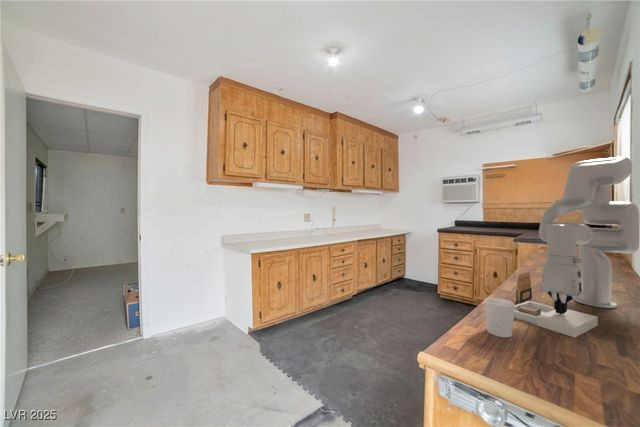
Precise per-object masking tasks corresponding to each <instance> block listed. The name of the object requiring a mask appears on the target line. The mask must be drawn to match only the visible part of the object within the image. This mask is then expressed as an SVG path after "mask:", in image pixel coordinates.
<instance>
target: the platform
mask: <svg viewBox="0 0 640 427" xmlns="http://www.w3.org/2000/svg"><path fill="white" fill-rule="evenodd" d="M598 317H599V316H596V315H592V314H588V313H584V312H580V311H576V310H572V309H568V308H567V312H565V313H564V314H559V313H556V310H552V311H550V312H547V313H545V314H542V315H539V316H537V325H536V326H537V327H541V328H543V329H547V330H549V331H550V330H551V331H554V332H556V333H559V334H562V335H566V336H569V337H572V338H577V337H579V336H581V335H583V334H584V333H586V332H588V331H590V330H592V329H594V328H596V327H597V326H598V325H599V324H598V322H599V320H598V319H599V318H598Z"/></svg>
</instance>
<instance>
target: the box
mask: <svg viewBox="0 0 640 427" xmlns="http://www.w3.org/2000/svg"><path fill="white" fill-rule="evenodd" d="M524 305H528V306H531V307H535V308H539V309H541V315H542V314H545V313H547V312H550V311H552V310H555V309H554V306H549V305H546V304H542V303H538V302H534V301H531V300H528V301H526V302H523V303H518V304H515V308H514V319H517V320H520V321H524V322H527V323H529V324H532V325H536V326H537V316H532V315H529V314H525V313H522V312H519V307H521V306H524ZM538 316H539V315H538Z"/></svg>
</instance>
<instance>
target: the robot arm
mask: <svg viewBox="0 0 640 427" xmlns="http://www.w3.org/2000/svg"><path fill="white" fill-rule="evenodd" d="M632 171H633V162H632V160H631V159H630V158H629V157H627V156H616V157H615V156H614V157H607V158H595V159H588V160H582V161H577V162H575V163H572V164H571V166H570V167H569V172H568V174H567V180H566V183H565V187H564V190H563V195H562V197H561V198H560V199H559V200H556V201H555V202H554V203H553V204H552V205H550V206H549V207H548V208H547V209H546V210H545V211H544V213H543V214H542V216H541V220H540V224H539V228H538V236H539V238H540V239H541V240H542V241H543V242H546V261H545V262H544V263H543V267H542V272H541V283H540V284H541V292H542V293H544V294H546V295H548V296H549V297H550V298H552V301H553V302H554V303H553V304H554V305H553V307H554V309H555V310H556V313H559V314H564V313H565V312H567V309H568V302H569V303H570V302H571V301H575V302H577V303H579V304H582V305H585V306H591V307H594V308H595V307H596V308H604V309H615V308H617V306H618V304H617V303H616V302H614V301H612V273H613V272H612V270H613V266H612V265H613V264H612V261H611V259H610V258H609V257H608V256H607V255H606V254H605V253H617V254H626V255H627V254H628V255H629V254H635V253H636V252H637V251H638V250H639V248H640V211H639V207H638V206H637V205H636V203H634V202H631V201H612V199H611V198H612V197H611V196H612V194H611V193H612V190H611V188H610V187H609V186H611V185H612V186H613V185H619V184H620V183H623V182H624V181H625V180H626V179H627V178H629V176H631V173H632ZM578 210H581V218H582V221H583V223H579V222H577V223H576V222H575V223H574V222H555V221H556V220H557V219H558V218H560V217H562V216H563V215H565V214H568V213H571V212H575V211H578ZM584 223H585V224H584ZM587 224H588V225H587ZM589 225H596V226H598V225H599V226H618V227H619V228H605V227H600V228H599V227H590V226H589ZM577 247H578V248H577ZM577 249H578V255H577ZM577 264H578V265H577Z"/></svg>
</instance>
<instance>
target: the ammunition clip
mask: <svg viewBox="0 0 640 427" xmlns="http://www.w3.org/2000/svg"><path fill="white" fill-rule="evenodd" d="M531 280H532V279H531V272H530V271H528V272H524V273H520V274H518V277H517V283H516V291H515V293H516V294H515V302H516V303H518V304H521V303H524V302H527V301H531V300H532V298H533V297H532V296H533V293H532V291H533V289H532V281H531Z"/></svg>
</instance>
